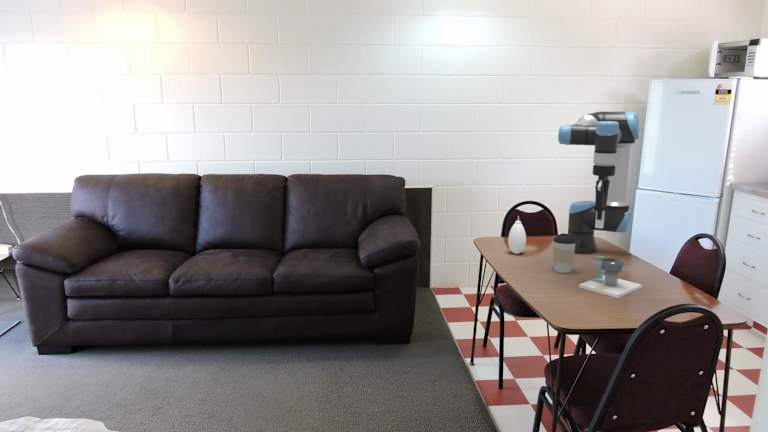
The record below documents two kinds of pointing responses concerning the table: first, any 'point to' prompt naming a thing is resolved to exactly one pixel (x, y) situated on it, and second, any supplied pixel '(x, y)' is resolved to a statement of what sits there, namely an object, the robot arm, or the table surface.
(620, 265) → the knob
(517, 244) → the sauce bottle
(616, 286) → the lock base
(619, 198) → the robot arm
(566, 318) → the table surface
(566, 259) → the coffee cup
